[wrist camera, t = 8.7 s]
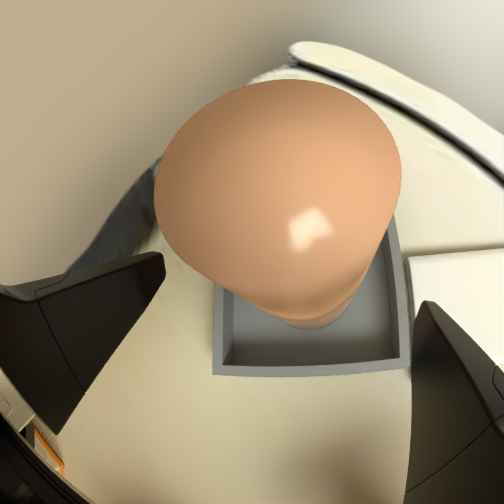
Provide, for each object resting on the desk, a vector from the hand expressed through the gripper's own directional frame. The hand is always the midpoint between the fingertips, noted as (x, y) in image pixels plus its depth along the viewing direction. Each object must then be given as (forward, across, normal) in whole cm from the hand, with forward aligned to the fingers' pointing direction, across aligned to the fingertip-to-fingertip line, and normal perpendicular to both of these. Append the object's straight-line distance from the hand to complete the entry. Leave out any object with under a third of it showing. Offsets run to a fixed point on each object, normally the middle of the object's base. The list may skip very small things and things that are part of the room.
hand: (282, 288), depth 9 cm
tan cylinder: (+8, 0, +5) cm, 9 cm away
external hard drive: (+9, -13, +6) cm, 17 cm away
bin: (+8, 0, +5) cm, 10 cm away
